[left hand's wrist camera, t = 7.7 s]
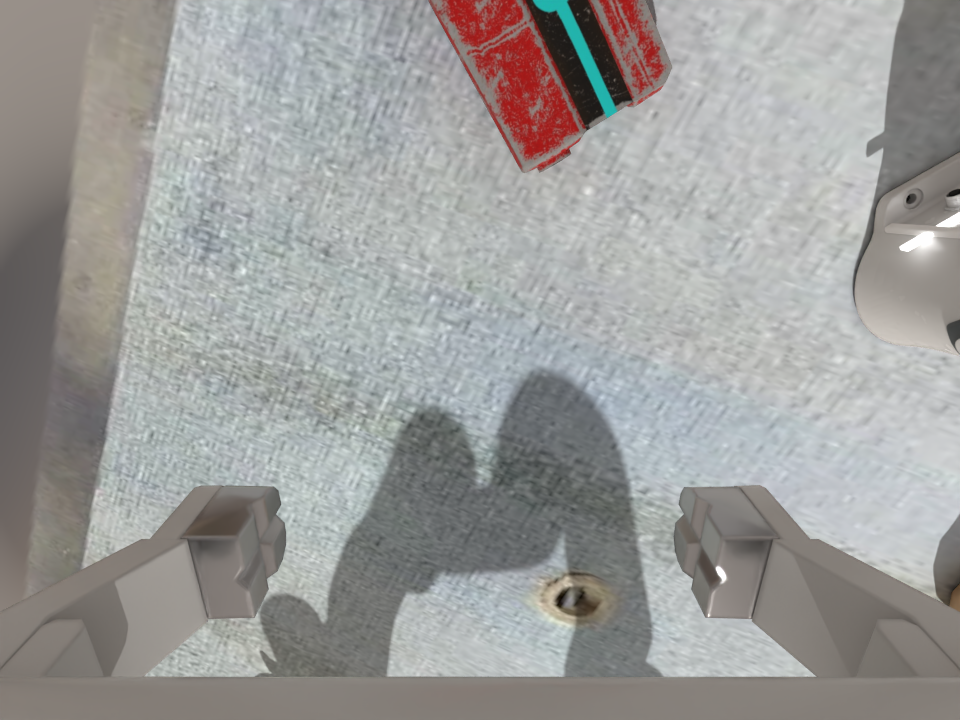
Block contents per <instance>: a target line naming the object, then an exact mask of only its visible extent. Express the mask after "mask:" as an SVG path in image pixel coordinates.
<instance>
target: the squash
mask: <svg viewBox="0 0 960 720" xmlns="http://www.w3.org/2000/svg"><path fill="white" fill-rule="evenodd" d="M949 607H951V608H953V609H955V610H957V611H959V612H960V584H959V585H958V586H957V587H956V588H955V590H954V591H953V592H952V594H951V599H950V605H949Z"/></svg>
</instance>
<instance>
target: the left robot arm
mask: <svg viewBox="0 0 960 720" xmlns="http://www.w3.org/2000/svg"><path fill="white" fill-rule="evenodd" d="M908 195H910V199H909V201H908V202H906V198H907V197H908ZM854 293H855V303H856V308H857V311H858V314H859V316H860V318H861V320H862V322H863V323H864V325H865V326H866V328H867V329H868V330H869V331H870V332H871V333H873V334H874V335H875V336H876V337H878V338H880V339H881V340H883V341H886V342H888V343H891V344H895V345H900V346H910V347H921V348H927V349H933V350H937V351H942V352H945V353H949V354H953V355H957V356H960V152H959V153H957V154H955V155H954V156H952V157H950V158H948V159H946V160H945V161H943V162H941V163H939V164H938V165H936V166H934V167H932V168H930V169H929V170H927V171H925V172H923V173H922V174H920V175H918V176H916V177H915V178H913V179H911V180H909V181H907V182H906V183H904V184H902V185H900V186H899V187H897V188H895V189H893V190H891V191H890V192H888V193H887V194H885V195H884V196H883V197H882V198H881V199H880V201H879V203H878V205H877V208H876V213H875V221H874V233H873V236H872V239H871V241H870V243H869V245H868V247H867V249H866V251H865V253H864V255H863V257H862V260H861V262H860V265H859V268H858V271H857V275H856V280H855V291H854ZM280 506H281V501H280V496H279V491H278V490H277V489H276V488H275V487H269V486H198V487H195V488H194V489H193V490H192V491H191V492H190V493H189V495H188V496H187V497H186V498H185V499H184V500H183V501H182V503H181V504H180V505H179V506H178V507H177V508H176V509H175V511H174V512H173V513H172V514H171V515H170V516H169V518H168V519H167V520H166V521H165V522H164V523H163V524H162V526H161V527H160V528H159V529H158V530H157V531H156V532H155V534H154V535H153V536H152V537H151V538H150V539H141V540H139V541H137V542H135V543H133V544H131V545H129V546H127V547H125V548H123V549H121V550H119V551H117V552H116V553H114V554H112V555H110V556H108V557H106V558H104V559H102V560H100V561H98V562H96V563H94V564H92V565H90V566H88V567H86V568H84V569H82V570H80V571H79V572H77V573H75V574H73V575H71V576H69V577H67V578H65V579H63V580H61V581H59V582H57V583H55V584H53V585H51V586H49V587H47V588H45V589H43V590H42V591H40V592H38V593H36V594H34V595H32V596H30V597H28V598H26V599H24V600H22V601H20V602H18V603H16V604H14V605H12V606H10V607H8V608H6V609H5V610H3V611H1V612H0V720H960V612H959V611H957V610H955V609H953V608H951V607H949V606H947V605H945V604H943V603H942V602H940V601H938V600H936V599H934V598H932V597H930V596H928V595H926V594H924V593H922V592H920V591H918V590H916V589H914V588H912V587H910V586H908V585H907V584H905V583H903V582H901V581H899V580H897V579H895V578H893V577H891V576H889V575H887V574H885V573H883V572H881V571H879V570H877V569H875V568H874V567H872V566H870V565H868V564H866V563H864V562H862V561H860V560H858V559H856V558H854V557H852V556H850V555H848V554H846V553H844V552H842V551H840V550H839V549H837V548H835V547H833V546H831V545H829V544H827V543H825V542H823V541H821V540H819V539H810V538H809V537H808V536H807V535H806V534H805V532H804V531H803V530H802V529H801V528H800V527H799V526H798V524H797V523H796V522H795V521H794V520H793V519H792V518H791V516H790V515H789V514H788V513H787V512H786V511H785V510H784V508H783V507H782V506H781V505H780V504H779V503H778V501H777V500H776V499H775V498H774V497H773V496H772V495H771V493H770V492H769V491H768V490H767V489H766V488H765V487H762V486H760V485H749V486H734V487H684V488H683V490H682V492H681V495H680V500H679V506H680V508H681V509H682V511H683V513H684V515H683V516H682V517H681V518H680V519H679V520H678V521H677V522H676V523H675V531H674V546H675V553H676V556H677V560H678V562H679V565H680V567H681V569H682V571H683V572H684V573H686V574H687V575H689V576H690V577H691V578H693V583H692V588H691V590H692V592H693V594H694V596H695V598H696V600H697V602H698V604H699V606H700V608H701V610H702V612H703V614H704V616H705V618H738V619H752V622H753V623H755V624H756V625H757V626H758V627H759V628H760V629H762V630H763V631H764V632H765V633H766V634H767V635H769V636H770V637H771V638H772V639H773V640H775V641H776V642H777V643H778V644H779V645H780V646H782V647H783V648H784V649H785V650H786V651H787V652H789V653H790V654H791V655H792V656H793V657H794V658H796V659H797V660H798V661H799V662H800V663H801V664H803V665H804V666H805V667H806V668H807V669H808V670H810V671H811V672H812V673H813V674H814V675H815V676H817V677H143V676H145V675H146V674H147V673H148V672H149V671H151V670H152V669H153V668H154V667H155V666H156V665H158V664H159V663H160V662H161V661H162V660H163V659H165V658H166V657H167V656H168V655H169V654H170V653H172V652H173V651H174V650H175V649H176V648H177V647H179V646H180V645H181V644H182V643H183V642H185V641H186V640H187V639H188V638H189V637H190V636H192V635H193V634H194V633H195V632H196V631H197V630H199V629H200V628H201V627H202V626H203V625H204V624H206V623H207V622H208V619H222V618H255V616H256V614H257V612H258V610H259V608H260V606H261V604H262V602H263V600H264V598H265V596H266V594H267V592H268V590H269V588H268V583H267V578H269V577H270V576H271V575H273V574H274V573H276V572H277V571H278V569H279V567H280V565H281V562H282V560H283V556H284V552H285V547H286V529H285V523H284V522H283V521H282V520H281V519H280V518H279V517H278V516H277V515H276V513H277V511H278V509H279V508H280Z"/></svg>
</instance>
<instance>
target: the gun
mask: <svg viewBox="0 0 960 720" xmlns="http://www.w3.org/2000/svg"><path fill="white" fill-rule="evenodd" d="M428 1H429V3H430V5H431V7H432V9H433V10H434V12H435V14H436V16H437V18H438V20H439V22H440V23H441V25H442V27H443V29H444V31H445V32H446V34H447V36H448V38H449V40H450V42H451V43H452V45H453V47H454V49H455V51H456V53H457V54H458V56H459V58H460V60H461V62H462V63H463V65H464V67H465V69H466V71H467V73H468V74H469V76H470V78H471V80H472V82H473V84H474V85H475V87H476V89H477V91H478V93H479V95H480V96H481V98H482V100H483V102H484V104H485V105H486V107H487V109H488V111H489V113H490V115H491V116H492V118H493V120H494V122H495V124H496V126H497V127H498V129H499V131H500V133H501V135H502V137H503V138H504V140H505V142H506V144H507V146H508V147H509V149H510V151H511V153H512V155H513V157H514V158H515V160H516V162H517V164H518V166H519V168H520V169H521V171H522V172H523V173H526V172H529V171H531V170H533V169H535V168H538V170H539V172H542V171H544V170H546V169H548V168H549V167H551V166H553V165H555V164H556V163H558V162H560V161H561V160H563V159H564V158H566V157H567V156H569V155H570V154H571V152H570V150H569V148H570V147H572V146H573V145H574V144H576V143H577V142H579V141H580V139H581V137H582V136H583V134H584V133H585V132H586V131H587V130H589V129H590V128H592V127H593V126H595V125H597V124H598V123H600V122H601V121H603V120H605V119H606V118H608V117H609V116H611V115H613V114H614V113H616V112H617V111H619V110H621V109H622V108H624V107H625V106H629V107H635V106H637V105H638V104H640V103H641V102H643V101H644V100H646V99H647V98H649V97H650V96H652V95H653V94H655V93H657V92H658V91H660V90H661V88H662V87H663V85H664V84H665V82H666V80H667V78H668V76H669V73H670V71H671V69H672V65H671V62H670V60H669V57H668V55H667V52H666V50H665V47H664V45H663V42H662V40H661V37H660V35H659V32H658V30H657V27H656V25H655V22H654V20H653V17H652V14H651V12H650V9H649V7H648V4H647V2H646V0H428Z"/></svg>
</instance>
